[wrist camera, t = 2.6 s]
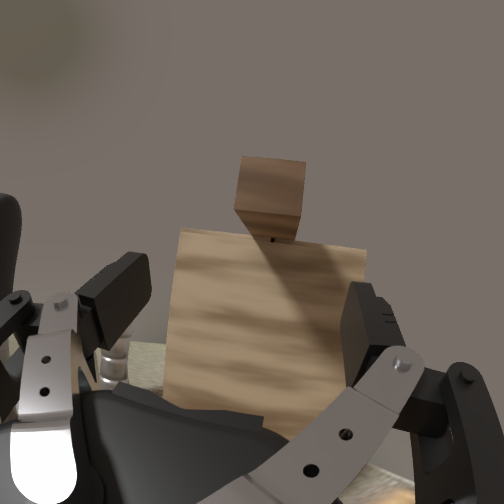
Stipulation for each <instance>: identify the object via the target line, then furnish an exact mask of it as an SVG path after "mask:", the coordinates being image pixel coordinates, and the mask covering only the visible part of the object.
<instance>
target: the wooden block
mask: <svg viewBox="0 0 504 504" xmlns="http://www.w3.org/2000/svg"><path fill="white" fill-rule="evenodd" d="M366 254H367V250H362V249H354V248H348V247H340V246H332V245H324V244H316V243H309V242H301V241H293V240H285V239H277V238H275V243H274V242H272V240H271V238H269V237H260V236H252V235H243V234H235V233H226V232H217V231H208V230H199V229H189V228H181V233H180V239H179V246H178V252H177V259H176V265H175V273H174V280H173V288H172V295H171V304H170V313H169V322H168V332H167V342H166V354H165V367H164V382H163V399H165V400H167V401H168V402H170V403H172V404H174V405H176V406H178V407H180V408H183V409H195V410H228V411H234V412H239V413H245V414H252V415H258V416H264V420H263V426H262V427H264V428H267V429H269V430H272V431H274V432H276V433H278V434H280V435H281V436H283V437H285V438H286V439H288V440H289V441H291V440H292V439H293V438H295V437H296V436H297V435H298V434H299V433H300V432H301V431H302V430H303V429H305V428H306V427H307V426H308V425H309V424H310V423H311V422H312V421H313V420H314V419H315V418H316V417H317V416H318V415H320V414H321V413H322V412H323V411H324V410H325V409H326V408H327V407H328V406H329V405H330V404H331V403H332V402H333V401H334V400H335V399H336V398H337V397H338V396H339V394H340V393H341V392H342V391H343V390H344V389H345V388H346V380H345V370H344V361H343V352H342V343H341V335H340V321H341V316H342V312H343V308H344V304H345V301H346V297H347V293H348V289H349V285H350V283H351V281H356V282H364V274H365V266H366Z"/></svg>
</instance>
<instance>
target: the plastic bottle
mask: <svg viewBox="0 0 504 504" xmlns="http://www.w3.org/2000/svg"><path fill="white" fill-rule="evenodd" d="M131 336H132V326H131V324H130V325H129V326H128V328H127V329H126V330H125V331H124V333H123V334H122V335H121V337H120V338H119V339H118V340H117V342H116V343H115V344H114V346H113V347H112V348H111V350H110V351H107V350H104V349H101V353H102V354H101V366H100V374H99V380H100V387H101V390H114V388H115V387H116V385H117V383H118V382H119V381H121V382H124V383H127V384H129V379H128V366H127V361H128V352H129V346H130V341H131Z"/></svg>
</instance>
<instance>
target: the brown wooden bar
mask: <svg viewBox="0 0 504 504" xmlns="http://www.w3.org/2000/svg"><path fill="white" fill-rule="evenodd" d="M305 168H306V162H299V161H291V160H281V159H271V158H260V157H246V156H242V160H241V167H240V172H239V179H238V185H237V191H236V198H235V204H234V210H235V212H236V213H237V215H238V216H239V217H240V219H241V221H242V222H243V223H244V225H245V226H246V228H247V229H248V231H249V232H250V234H251V235H252V236H260V237H269V238H271V240H272V242H274V243H275V238H277V239H285V240H293V241H295V237H296V233H297V230H298V226H299V222H300V218H301V211H302V200H303V190H304V179H305Z"/></svg>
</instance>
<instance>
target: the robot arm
mask: <svg viewBox="0 0 504 504" xmlns="http://www.w3.org/2000/svg"><path fill="white" fill-rule="evenodd" d="M21 226H22V217H21V209H20V205H19V203H18V201H17V200H16V199H15V198H14V197H13V196H11V195H8V194H3V193H0V504H343V503H342V502H341V501H340V500H339V498H338V496H339V495H340V494H341V493H342V491H343V490H344V489H345V488H346V487H347V486H348V485H349V484H350V482H351V481H352V480H353V479H354V478H355V476H356V475H357V474H358V473H359V472H360V470H361V469H362V468H363V467H364V465H365V464H366V463H367V461H368V460H369V459H370V458H371V456H372V455H373V454H374V452H375V451H376V449H377V448H378V446H379V445H380V444H381V443H382V441H383V440H384V438H385V437H386V435H387V434H388V432H389V431H390V429H391V428H395V429H398V430H403V431H407V432H410V439H411V447H412V457H413V468H414V482H415V504H504V435H503V432H502V429H501V425H500V422H499V420H498V417H497V414H496V411H495V408H494V405H493V403H492V400H491V397H490V395H489V392H488V390H487V387H486V385H485V382H484V380H483V377H482V375H481V374H480V372H479V371H478V370H477V369H476V368H474V367H473V366H472V365H470V364H467V363H464V362H456V363H454V364H452V365H451V366H450V367H449V369H448V370H447V372H446V373H444V372H440V371H436V370H432V369H429V368H426V367H425V366H424V362H423V360H422V358H421V357H420V355H419V354H418V353H416V352H415V351H414V350H412V349H410V348H407V347H406V345H405V342H404V340H403V337H402V334H401V331H400V329H399V326H398V324H397V321H396V319H395V316H394V313H393V311H392V308H391V306H390V305H389V304H388V303H387V302H386V301H385V300H384V299H383V298H382V297H376V295H375V292H374V290H373V287H372V284H371V283H365V282H356V281H351V283H350V285H349V289H348V293H347V297H346V301H345V304H344V308H343V312H342V316H341V321H340V335H341V343H342V352H343V361H344V370H345V380H346V388H345V389H344V390H343V391H342V392H341V393H340V394H339V396H338V397H337V398H336V399H335V400H334V401H333V402H332V403H331V404H330V405H329V406H328V407H327V408H326V409H325V410H324V411H323V412H322V413H321V414H320V415H318V416H317V417H316V418H315V419H314V420H313V421H312V422H311V423H310V424H309V425H308V426H307V427H306V428H305V429H303V430H302V431H301V432H300V433H299V434H298V435H297V436H296V437H295V438H293V439H292V440H291V441H289V440H288V439H286V438H285V437H283V436H281V435H280V434H278V433H276V432H274V431H272V430H269V429H267V428H264V427H262V426H263V420H264V416H258V415H252V414H245V413H239V412H234V411H228V410H195V409H183V408H180V407H178V406H176V405H174V404H172V403H170V402H168V401H167V400H165V399H163V398H161V397H159V396H158V395H156V394H154V393H152V392H151V391H148V390H145V389H142V388H139V387H135V386H132V385H129V384H127V383H124V382H121V381H119V382H118V383H117V385H116V387H115V388H114V390H101V387H100V380H99V372H98V364H97V356H96V353H95V350H96V349H97V347H98V348H101V349H104V350H107V351H110V350H111V348H112V347H113V346H114V344H115V343H116V342H117V340H118V339H119V338H120V337H121V335H122V334H123V333H124V331H125V330H126V329H127V328H128V326H129V325H130V324H131V323H132V321H133V320H134V318H136V316H137V315H138V314H139V312H140V311H141V310H142V309H143V308H144V306H145V305H146V304H147V303H148V301H149V299H150V297H151V292H152V286H151V278H150V270H149V261H148V257H147V255H146V254H143V253H137V252H127V253H126V254H125V255H123V256H122V257H121V258H120V259H119V260H117V261H116V262H114V263H112V264H110V265H107V266H106V267H105V268H104V269H102V270H101V271H100V272H99V273H97V274H96V275H95V276H94V277H93V278H91V279H90V280H89V281H88V282H87V283H85V284H84V285H83V286H82V287H81V288H80V289H78V290H77V291H76V292H75V293H71V292H61V293H57V294H54V295H52V296H51V297H49V298H48V299H47V300H46V301H45V302H44V304H39V303H33V301H32V298H31V296H30V293H29V292H28V291H25V290H19V291H15V292H12V291H13V282H14V273H15V266H16V260H17V254H18V249H19V242H20V237H21ZM12 333H13V334H14V336H15V338H16V340H17V342H18V344H19V346H20V347H19V348H18V349H17V350H16V351H15V353H14V354H13V355H12V356H11V357H10V356H9V340H8V337H9V336H10V335H11V334H12ZM18 401H19V415H18V416H17V411H16V404H17V402H18ZM450 428H451V430H450ZM451 432H452V434H451ZM452 437H453V439H452Z"/></svg>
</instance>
